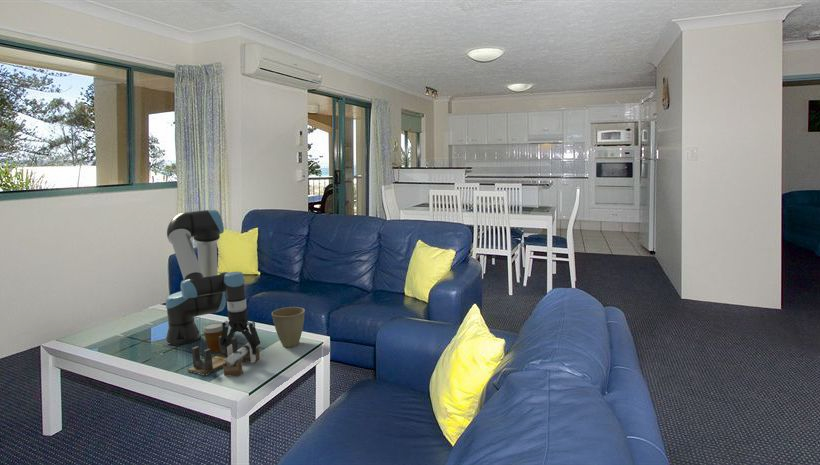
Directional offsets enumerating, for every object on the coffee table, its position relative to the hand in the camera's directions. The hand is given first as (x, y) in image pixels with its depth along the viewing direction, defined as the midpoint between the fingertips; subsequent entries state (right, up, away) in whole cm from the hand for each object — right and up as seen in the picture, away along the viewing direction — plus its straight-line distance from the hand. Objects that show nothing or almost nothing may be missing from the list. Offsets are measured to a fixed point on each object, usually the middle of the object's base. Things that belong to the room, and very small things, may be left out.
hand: (242, 360), depth 210 cm
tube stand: (0, -3, 0) cm, 3 cm away
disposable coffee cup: (-19, -1, +20) cm, 28 cm away
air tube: (0, +1, 0) cm, 1 cm away
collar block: (-12, -3, +5) cm, 13 cm away
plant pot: (+15, +1, +24) cm, 28 cm away
